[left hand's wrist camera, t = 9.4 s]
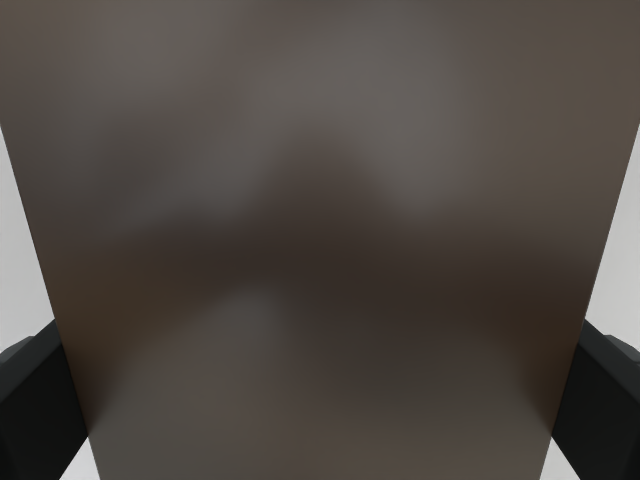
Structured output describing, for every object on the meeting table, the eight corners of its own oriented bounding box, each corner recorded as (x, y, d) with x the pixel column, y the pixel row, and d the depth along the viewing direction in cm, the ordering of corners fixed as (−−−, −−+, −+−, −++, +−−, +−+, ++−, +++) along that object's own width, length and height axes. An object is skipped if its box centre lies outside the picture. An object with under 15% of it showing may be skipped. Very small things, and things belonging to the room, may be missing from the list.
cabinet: (146, -82, 13) (-141, -363, 5) (492, -82, 13) (778, -363, 5) (200, 333, 19) (110, 519, 11) (439, 333, 19) (529, 519, 11)
